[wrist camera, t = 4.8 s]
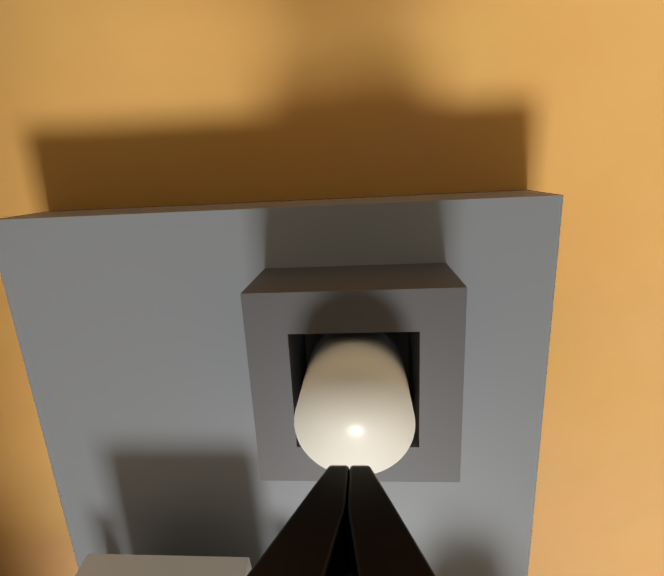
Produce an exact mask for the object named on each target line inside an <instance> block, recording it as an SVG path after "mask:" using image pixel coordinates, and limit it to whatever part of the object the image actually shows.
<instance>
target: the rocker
mask: <svg viewBox="0 0 664 576" xmlns="http://www.w3.org/2000/svg"><path fill="white" fill-rule="evenodd" d="M251 569H252V567H251V563H250V558H249V557H215V556H171V555H128V554H87V556H86V558H85V560H84V561H83V563H82V565H81V567H80V568H79V570H78V572H77V574H76V575H75V576H247V575H248V573H249V572H250V571H251Z"/></svg>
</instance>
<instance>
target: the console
mask: <svg viewBox="0 0 664 576" xmlns="http://www.w3.org/2000/svg"><path fill="white" fill-rule="evenodd" d="M562 204H563V195H559V194H552V193H545V192H538V191H531V190H518V191H495V192H473V193H451V194H429V195H406V196H384V197H362V198H340V199H317V200H295V201H273V202H251V203H228V204H206V205H184V206H161V207H139V208H117V209H95V210H72V211H50V212H42V213H35V214H28V215H21V216H14V217H7V218H0V273H1V276H2V280H3V284H4V288H5V292H6V295H7V299H8V303H9V307H10V311H11V314H12V318H13V322H14V326H15V330H16V333H17V337H18V341H19V345H20V349H21V352H22V356H23V360H24V364H25V368H26V371H27V375H28V379H29V383H30V387H31V390H32V394H33V398H34V402H35V406H36V409H37V413H38V417H39V421H40V425H41V428H42V432H43V436H44V440H45V444H46V447H47V451H48V455H49V459H50V463H51V466H52V470H53V474H54V478H55V481H56V485H57V489H58V493H59V497H60V500H61V504H62V508H63V512H64V516H65V519H66V523H67V527H68V531H69V535H70V538H71V542H72V546H73V550H74V554H75V557H76V561H77V565H78V569H79V568H80V567H81V565H82V563H83V561H84V560H85V558H86V556H87V554H128V555H171V556H215V557H249V558H250V563H251V567H252V568H253V567H254V565H255V564H256V563H257V561H258V560H259V559H260V557H261V556H262V555H263V553H264V552H265V551H266V549H267V548H268V547H269V545H270V544H271V543H272V541H273V540H274V539H275V537H276V536H277V535H278V533H279V532H280V531H281V529H282V528H283V527H284V525H285V524H286V523H287V521H288V520H289V519H290V517H291V516H292V515H293V513H294V512H295V511H296V509H297V508H298V507H299V505H300V504H301V503H302V501H303V500H304V499H305V497H306V496H307V495H308V493H309V492H310V491H311V489H312V488H313V487H314V485H315V484H316V483H317V481H318V480H319V479H320V477H321V476H322V475H323V473H324V472H325V471H326V469H325V468H323V467H322V466H320V465H318V464H317V463H316V462H314V461H313V460H312V459H311V458H310V457H309V456H308V455H307V454H306V453H305V451H304V450H303V449H302V447H301V445H300V443H299V441H298V439H297V436H296V433H295V428H294V415H295V410H296V406H297V402H298V399H299V395H300V392H301V388H302V384H303V381H304V377H305V374H306V370H307V367H308V363H309V359H310V356H311V353H312V351H313V349H314V347H315V346H316V344H317V343H318V342H319V340H320V339H321V338H322V337H324V336H325V335H326V334H328V333H378V332H382V333H384V334H385V335H387V336H388V337H389V338H390V339H391V340H392V341H393V342H394V343H395V344H396V346H397V347H398V349H399V351H400V353H401V355H402V358H403V362H404V367H405V372H406V377H407V382H408V387H409V392H410V396H411V401H412V406H413V411H414V416H415V433H414V438H413V440H412V443H411V445H410V447H409V449H408V451H407V452H406V453H405V455H404V456H403V457H402V458H401V459H400V460H399V461H398V462H397V463H395V464H394V465H393V466H391V467H389V468H387V469H386V470H383V471H381V472H379V473H375V475H376V477H377V478H378V480H379V482H380V483H381V485H382V487H383V488H384V490H385V492H386V493H387V495H388V497H389V498H390V500H391V502H392V503H393V505H394V507H395V508H396V510H397V512H398V513H399V515H400V517H401V518H402V520H403V522H404V523H405V525H406V527H407V528H408V530H409V532H410V533H411V535H412V537H413V538H414V540H415V542H416V543H417V545H418V547H419V548H420V550H421V552H422V553H423V555H424V557H425V558H426V560H427V562H428V563H429V565H430V567H431V568H432V570H433V572H434V573H435V575H436V576H528V566H529V555H530V545H531V534H532V523H533V513H534V502H535V491H536V481H537V470H538V459H539V449H540V438H541V428H542V417H543V406H544V396H545V385H546V374H547V364H548V353H549V342H550V332H551V321H552V310H553V300H554V289H555V279H556V268H557V257H558V247H559V236H560V225H561V215H562Z"/></svg>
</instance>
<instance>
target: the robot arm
mask: <svg viewBox="0 0 664 576" xmlns="http://www.w3.org/2000/svg"><path fill="white" fill-rule="evenodd" d="M247 576H436V575H435V573H434V572H433V570H432V568H431V567H430V565H429V563H428V562H427V560H426V558H425V557H424V555H423V553H422V552H421V550H420V548H419V547H418V545H417V543H416V542H415V540H414V538H413V537H412V535H411V533H410V532H409V530H408V528H407V527H406V525H405V523H404V522H403V520H402V518H401V517H400V515H399V513H398V512H397V510H396V508H395V507H394V505H393V503H392V502H391V500H390V498H389V497H388V495H387V493H386V492H385V490H384V488H383V487H382V485H381V483H380V482H379V480H378V478H377V477H376V475H375V473H374V472H373V470H372V469H371V467H370V466H367V465H353V466H351V467H350V470H349V467H348V466H347V465H330V466H329V467H328V468H327V469H326V471H325V472H324V473H323V475H322V476H321V477H320V479H319V480H318V481H317V483H316V484H315V485H314V487H313V488H312V489H311V491H310V492H309V493H308V495H307V496H306V497H305V499H304V500H303V501H302V503H301V504H300V505H299V507H298V508H297V509H296V511H295V512H294V513H293V515H292V516H291V517H290V519H289V520H288V521H287V523H286V524H285V525H284V527H283V528H282V529H281V531H280V532H279V533H278V535H277V536H276V537H275V539H274V540H273V541H272V543H271V544H270V545H269V547H268V548H267V549H266V551H265V552H264V553H263V555H262V556H261V557H260V559H259V560H258V561H257V563H256V564H255V565H254V567H253V568H252V569H251V571H250V572H249V573H248V575H247Z"/></svg>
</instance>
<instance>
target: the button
mask: <svg viewBox="0 0 664 576" xmlns="http://www.w3.org/2000/svg"><path fill="white" fill-rule="evenodd" d="M294 428H295V433H296V436H297V439H298V441H299V443H300V445H301V447H302V449H303V450H304V451H305V453H306V454H307V455H308V456H309V457H310V458H311V459H312V460H313V461H314V462H316V463H317V464H318V465H320V466H322V467H323V468H325V469H327V468H328V467H329V466H330V465H347V466H348V467H349V470H350V467H351V466H353V465H367V466H370V467H371V469H372V470H373V472H374V473H379V472H381V471H383V470H386V469H387V468H389V467H391V466H393V465H394V464H395V463H397V462H398V461H399V460H400V459H401V458H402V457H403V456H404V455H405V453H406V452H407V451H408V449H409V447H410V445H411V443H412V440H413V438H414V433H415V416H414V411H413V406H412V401H411V396H410V392H409V387H408V382H407V377H406V372H405V367H404V362H403V358H402V355H401V353H400V351H399V349H398V347H397V346H396V344H395V343H394V342H393V341H392V340H391V339H390V338H389V337H388V336H387V335H385V334H384V333H382V332H378V333H328V334H326V335H325V336H324V337H322V338H321V339H320V340H319V342H318V343H317V344H316V346H315V347H314V349H313V351H312V353H311V356H310V359H309V363H308V367H307V370H306V374H305V377H304V381H303V384H302V388H301V392H300V395H299V399H298V402H297V406H296V410H295V415H294Z"/></svg>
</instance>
